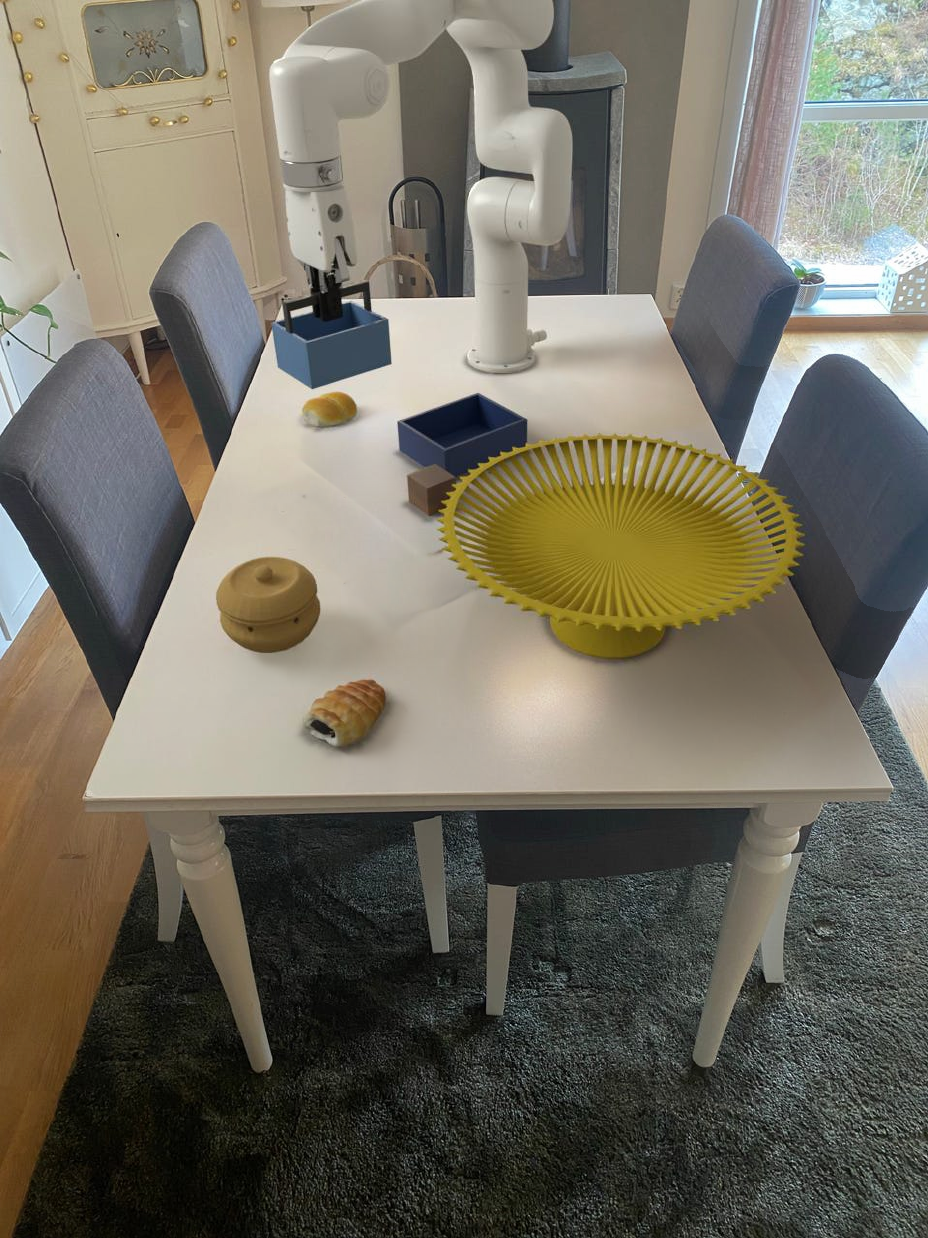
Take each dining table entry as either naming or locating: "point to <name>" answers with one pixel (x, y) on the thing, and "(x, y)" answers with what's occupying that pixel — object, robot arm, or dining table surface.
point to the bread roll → (329, 410)
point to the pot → (268, 604)
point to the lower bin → (461, 434)
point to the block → (430, 488)
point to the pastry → (346, 712)
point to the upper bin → (331, 340)
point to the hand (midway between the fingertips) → (328, 316)
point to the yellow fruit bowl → (618, 543)
